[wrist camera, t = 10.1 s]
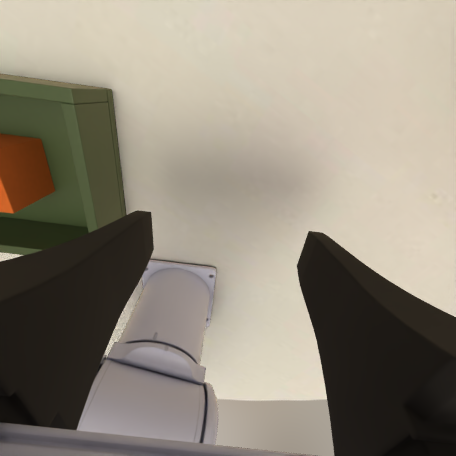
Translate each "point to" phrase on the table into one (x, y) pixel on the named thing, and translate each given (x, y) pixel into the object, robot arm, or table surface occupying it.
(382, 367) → the robot arm
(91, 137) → the bin
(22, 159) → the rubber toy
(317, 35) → the table surface
